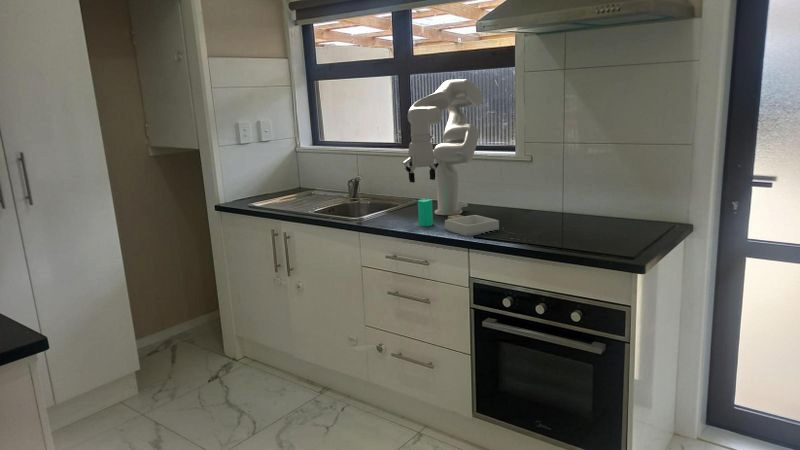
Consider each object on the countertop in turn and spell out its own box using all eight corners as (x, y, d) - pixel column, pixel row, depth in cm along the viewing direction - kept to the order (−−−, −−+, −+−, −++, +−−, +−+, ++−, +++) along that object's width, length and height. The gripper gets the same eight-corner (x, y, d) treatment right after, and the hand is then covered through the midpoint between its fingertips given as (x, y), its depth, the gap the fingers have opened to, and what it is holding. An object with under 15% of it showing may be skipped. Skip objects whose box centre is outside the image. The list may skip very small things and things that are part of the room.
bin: (475, 224, 240) (475, 214, 239) (498, 230, 227) (498, 220, 226) (445, 229, 232) (444, 219, 232) (467, 236, 220) (467, 226, 219)
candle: (436, 224, 244) (435, 195, 241) (426, 226, 240) (425, 197, 237) (425, 222, 248) (424, 194, 245) (415, 225, 244) (414, 196, 241)
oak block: (458, 224, 243) (457, 214, 242) (465, 226, 238) (464, 216, 237) (448, 225, 240) (447, 216, 239) (455, 227, 236) (454, 218, 235)
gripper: (433, 136, 243) (435, 177, 247) (397, 140, 236) (399, 182, 239) (443, 137, 237) (445, 179, 241) (406, 141, 229) (408, 184, 233)
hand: (422, 180), depth 240 cm, fingers open, 9 cm apart
